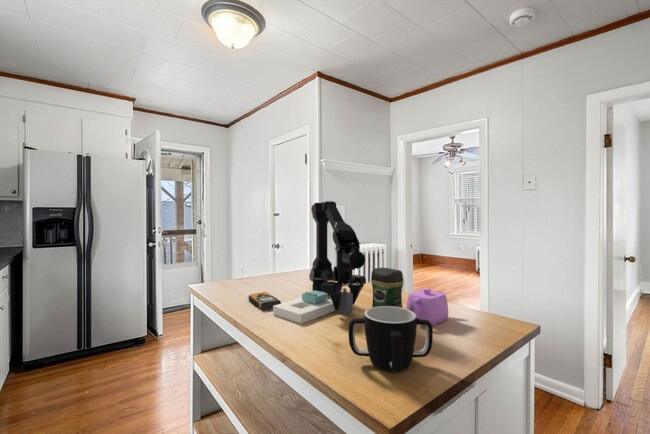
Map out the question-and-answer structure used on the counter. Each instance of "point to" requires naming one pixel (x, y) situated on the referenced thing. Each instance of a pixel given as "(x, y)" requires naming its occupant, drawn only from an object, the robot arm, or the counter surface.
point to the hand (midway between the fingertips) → (344, 307)
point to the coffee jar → (387, 287)
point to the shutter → (314, 297)
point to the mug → (390, 337)
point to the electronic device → (263, 300)
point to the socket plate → (302, 310)
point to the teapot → (428, 305)
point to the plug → (346, 303)
